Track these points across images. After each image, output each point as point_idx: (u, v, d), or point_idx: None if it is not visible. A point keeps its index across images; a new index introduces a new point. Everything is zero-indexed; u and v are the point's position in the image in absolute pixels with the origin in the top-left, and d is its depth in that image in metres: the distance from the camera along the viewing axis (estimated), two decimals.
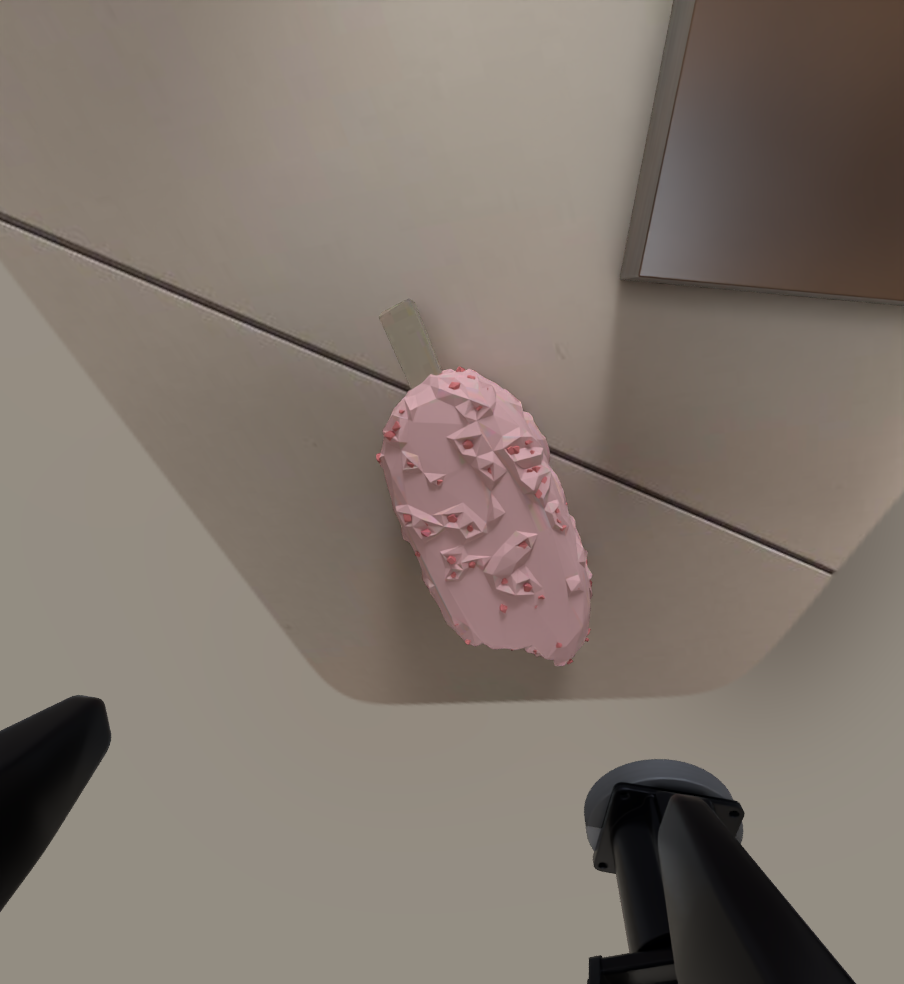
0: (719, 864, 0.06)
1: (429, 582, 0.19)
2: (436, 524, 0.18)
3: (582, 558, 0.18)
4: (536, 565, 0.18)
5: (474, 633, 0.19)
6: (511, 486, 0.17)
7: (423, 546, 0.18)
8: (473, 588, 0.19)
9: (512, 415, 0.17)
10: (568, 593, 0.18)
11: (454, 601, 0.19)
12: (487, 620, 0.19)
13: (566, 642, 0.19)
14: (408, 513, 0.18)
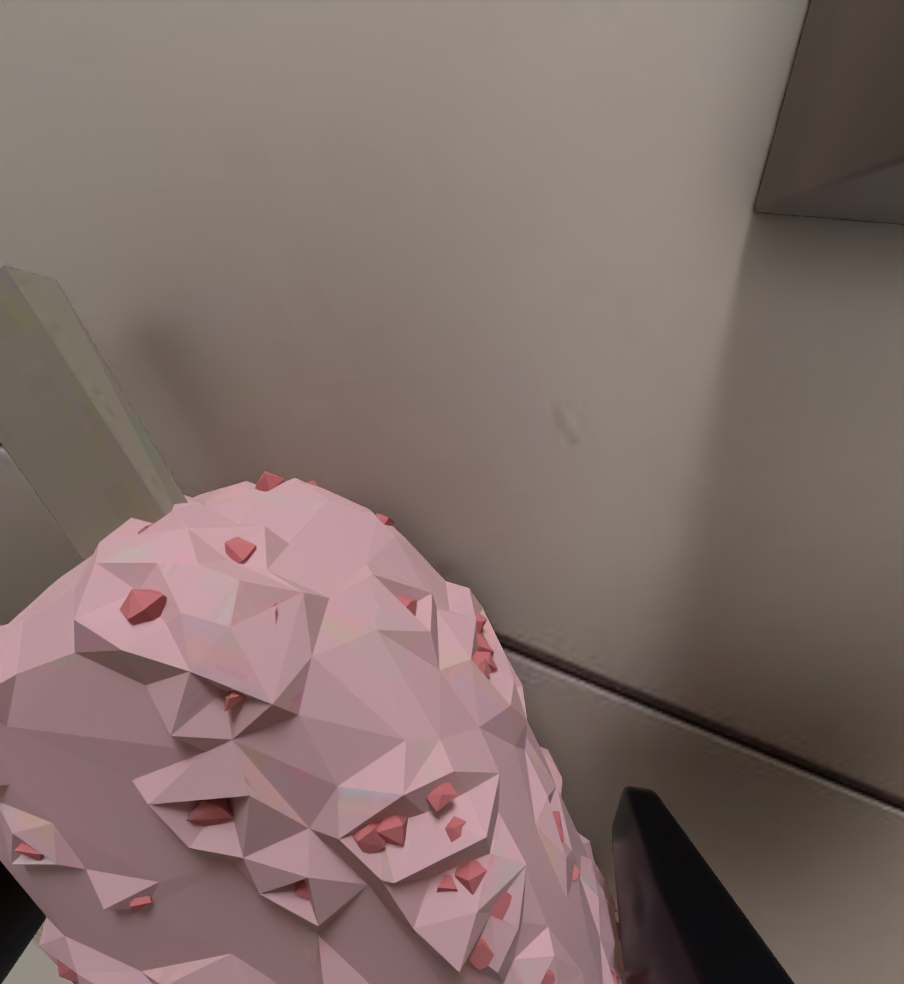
0: (662, 854, 0.06)
1: None
2: None
3: None
4: None
5: None
6: (387, 926, 0.05)
7: None
8: None
9: (381, 696, 0.05)
10: None
11: None
12: None
13: None
14: (69, 962, 0.06)
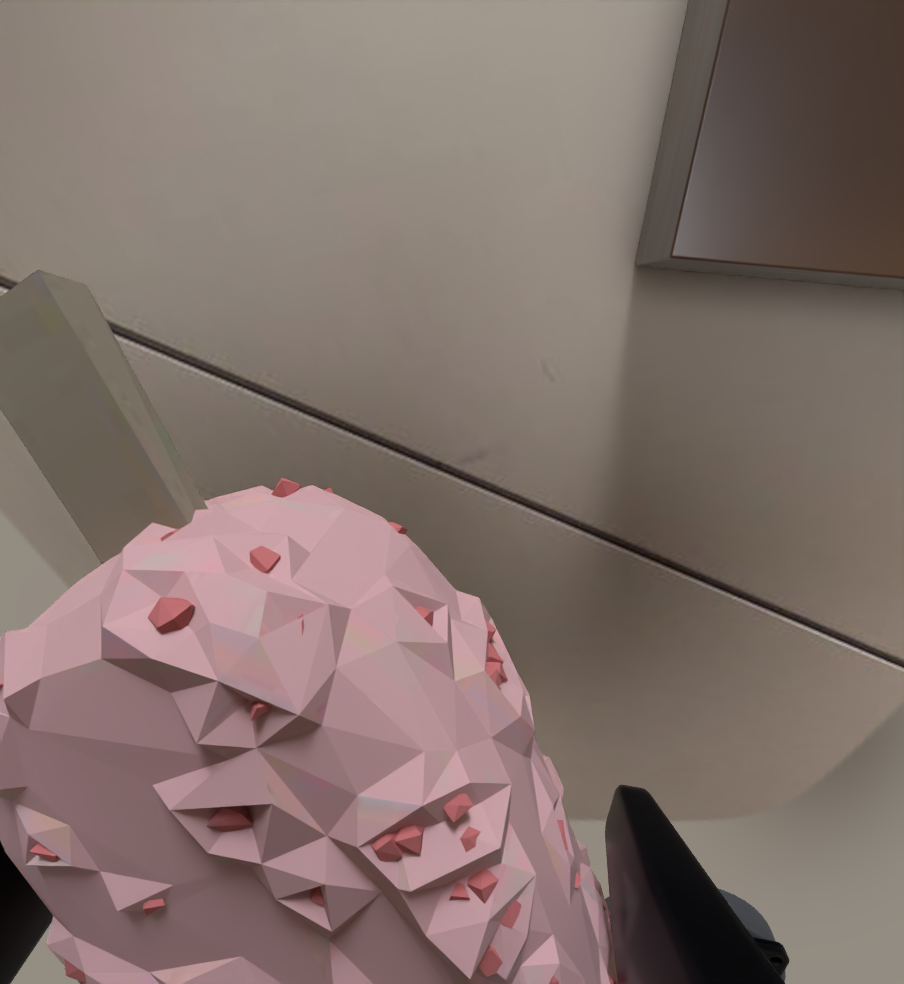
0: (653, 853, 0.06)
1: None
2: None
3: None
4: None
5: None
6: (397, 933, 0.05)
7: None
8: None
9: (401, 707, 0.05)
10: None
11: None
12: None
13: None
14: (77, 962, 0.06)
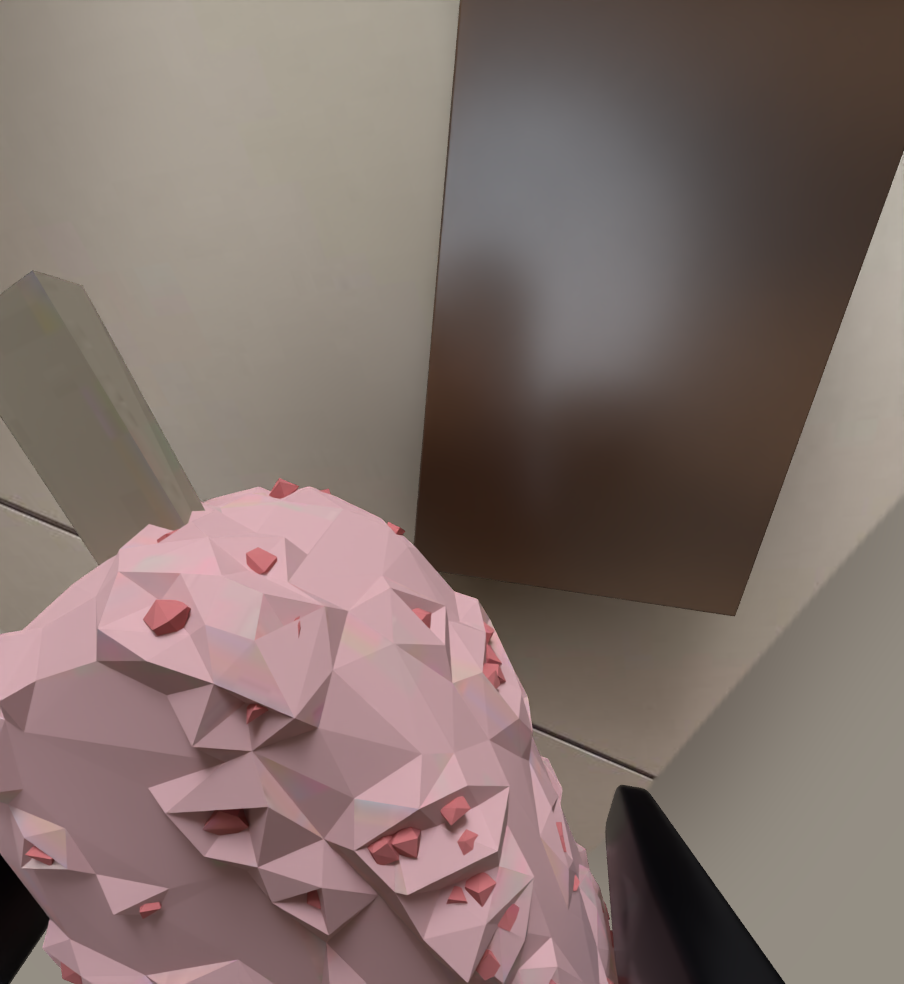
0: (653, 853, 0.06)
1: None
2: None
3: None
4: None
5: None
6: (395, 936, 0.05)
7: None
8: None
9: (399, 710, 0.05)
10: None
11: None
12: None
13: None
14: (74, 965, 0.06)
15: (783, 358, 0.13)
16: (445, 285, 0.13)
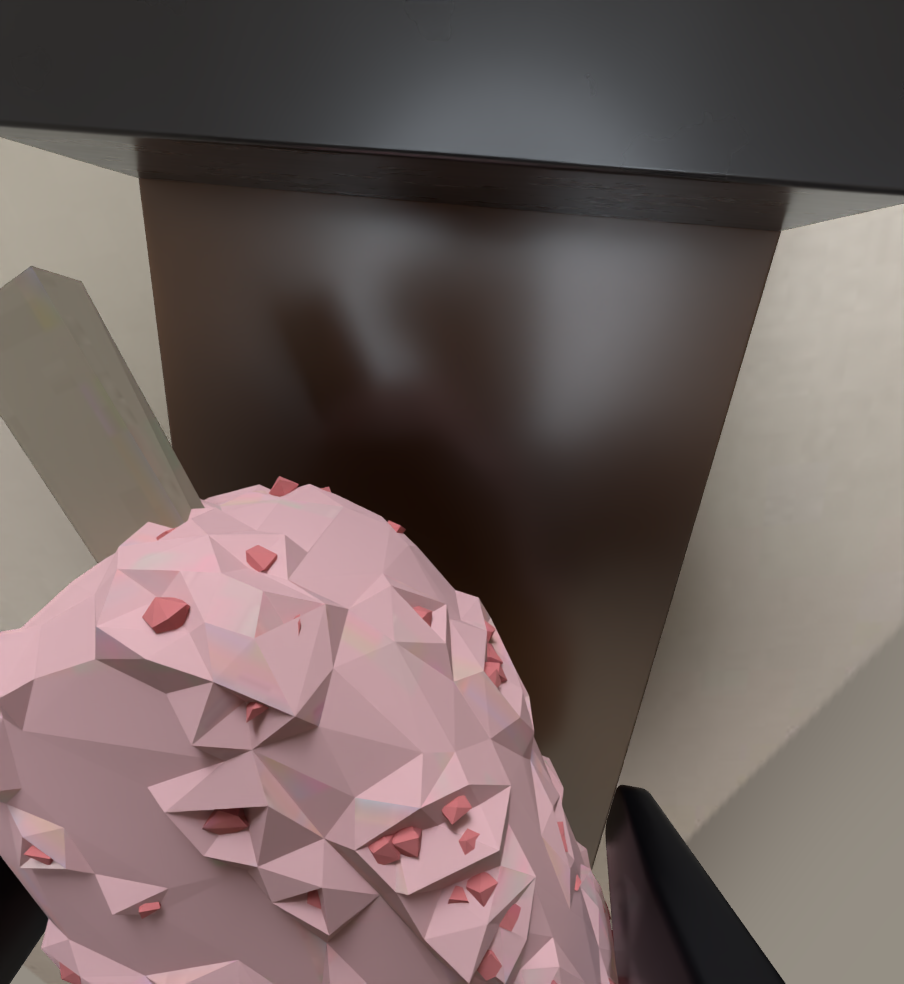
0: (654, 853, 0.06)
1: None
2: None
3: None
4: None
5: None
6: (397, 935, 0.05)
7: None
8: None
9: (399, 708, 0.05)
10: None
11: None
12: None
13: None
14: (73, 965, 0.06)
15: (596, 675, 0.11)
16: None
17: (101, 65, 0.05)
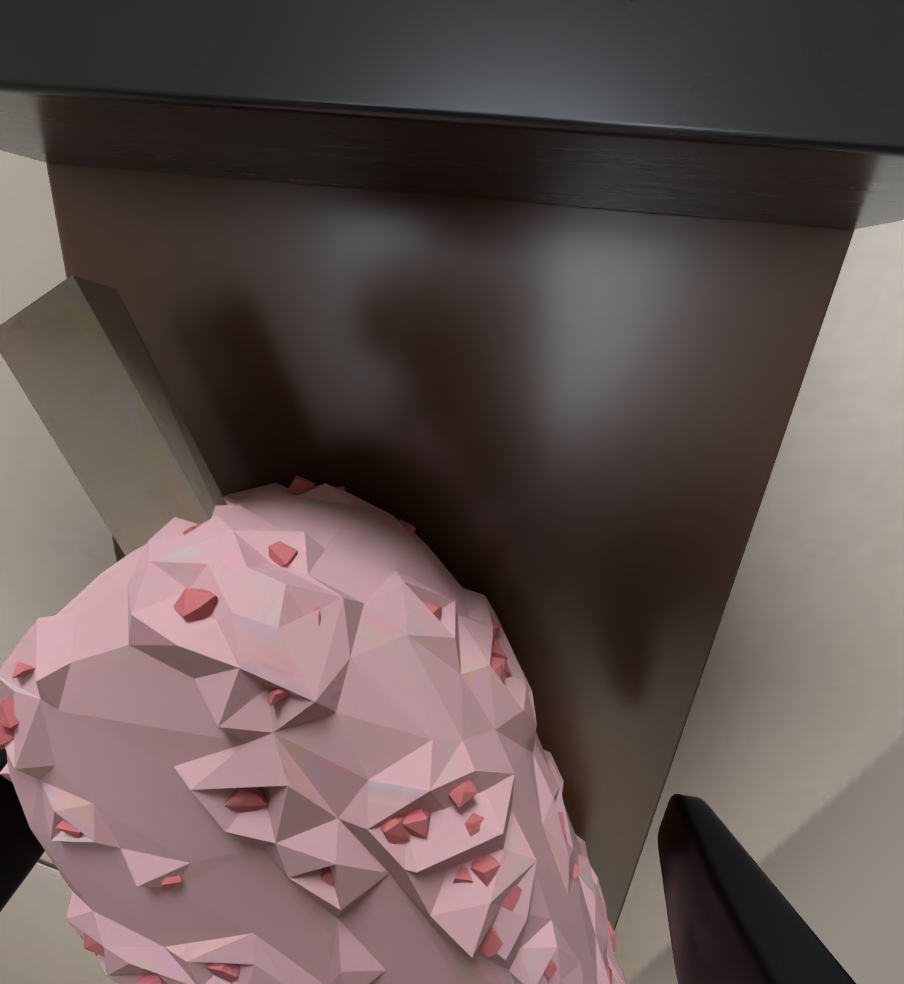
0: (719, 864, 0.06)
1: None
2: (178, 977, 0.06)
3: None
4: None
5: None
6: (404, 912, 0.05)
7: None
8: None
9: (411, 698, 0.05)
10: None
11: None
12: None
13: None
14: (96, 935, 0.06)
15: (611, 755, 0.09)
16: None
17: None
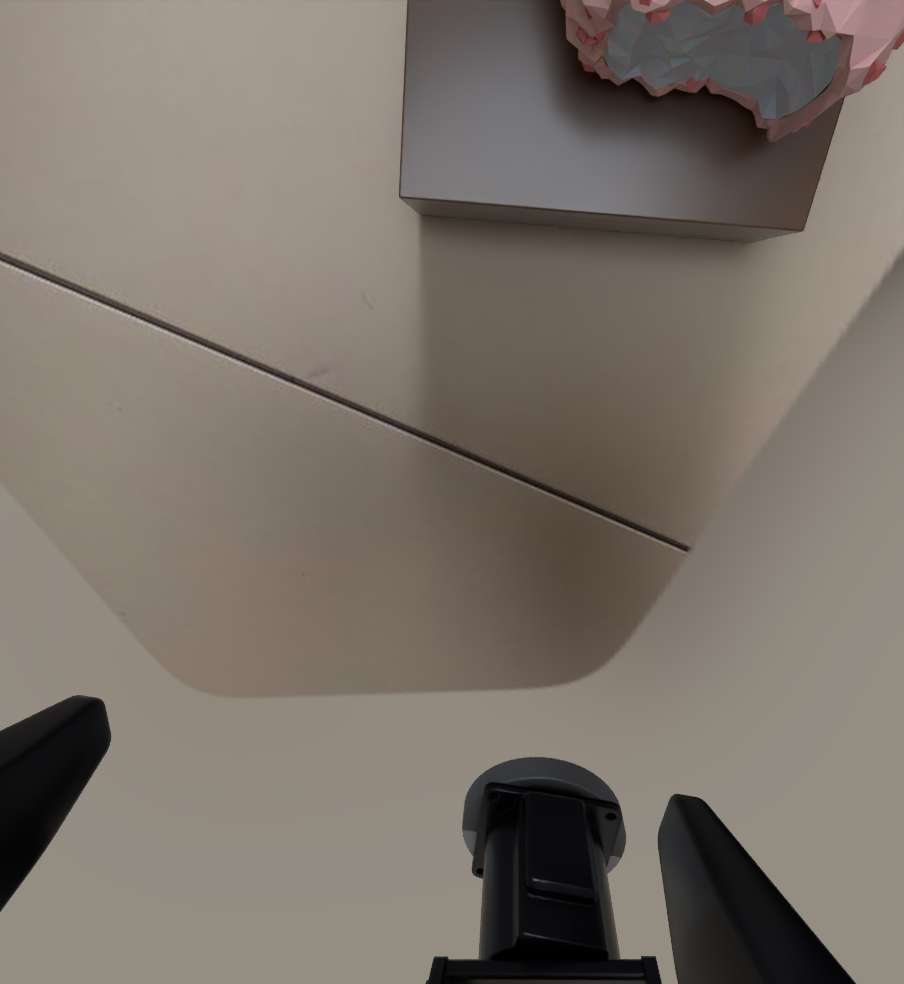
0: (719, 864, 0.06)
1: None
2: None
3: None
4: None
5: None
6: None
7: None
8: None
9: None
10: None
11: None
12: None
13: None
14: None
15: None
16: None
17: None
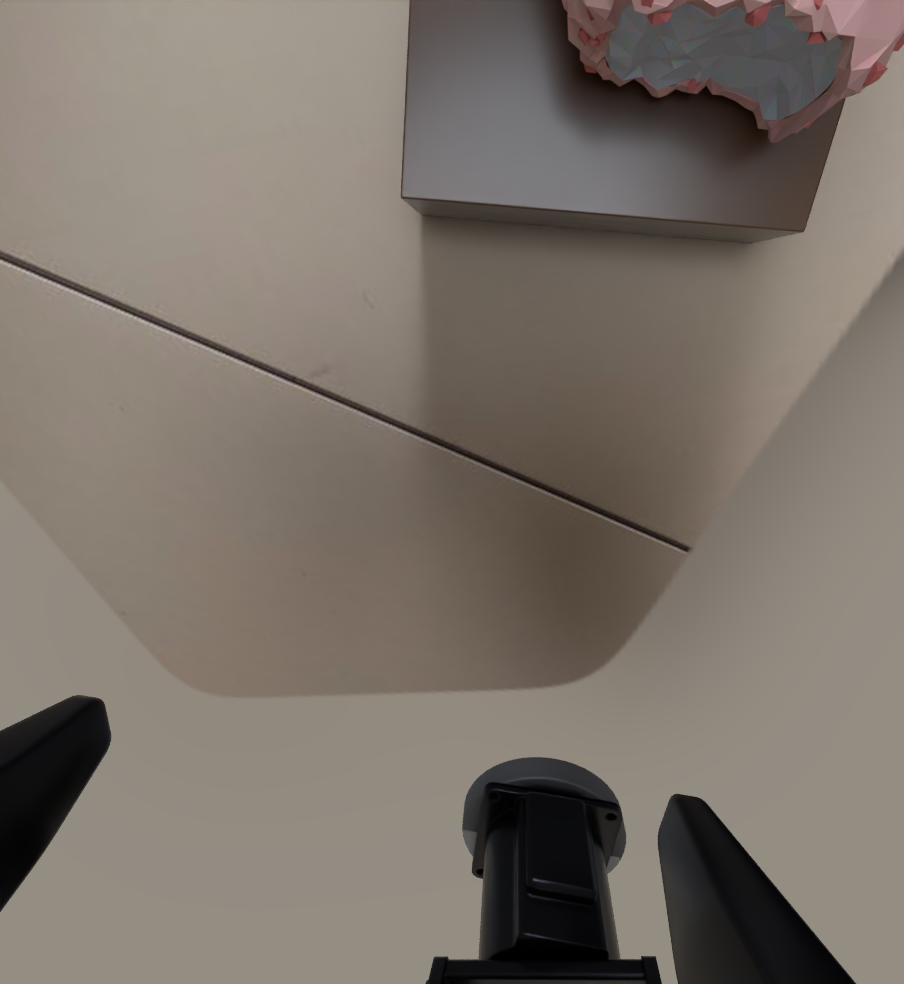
0: (719, 864, 0.06)
1: None
2: None
3: None
4: None
5: None
6: None
7: None
8: None
9: None
10: None
11: None
12: None
13: None
14: None
15: None
16: None
17: None
